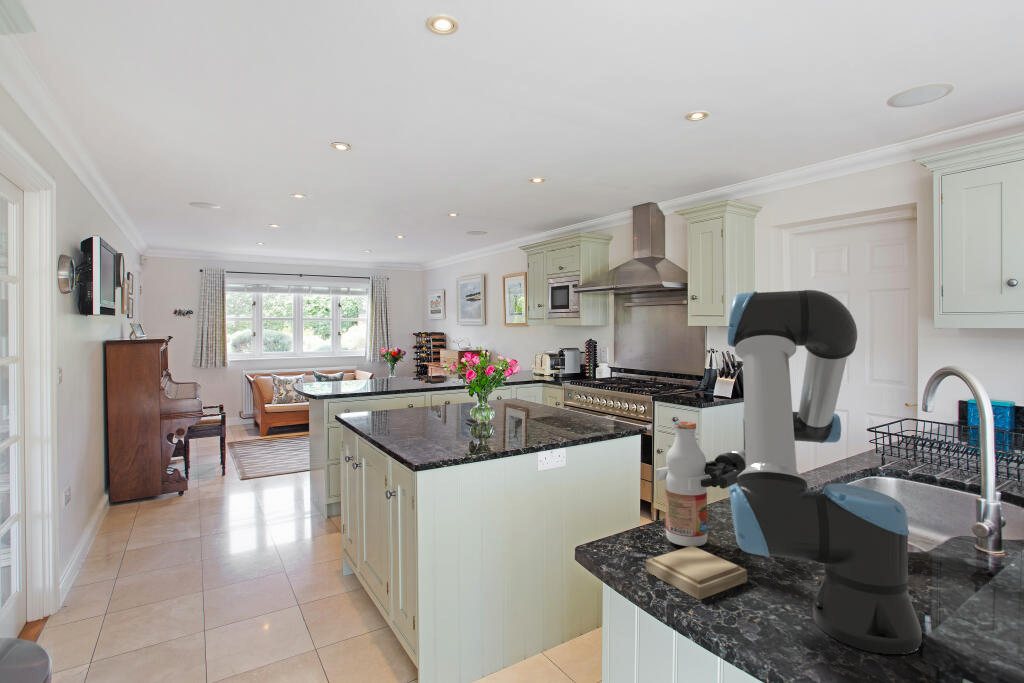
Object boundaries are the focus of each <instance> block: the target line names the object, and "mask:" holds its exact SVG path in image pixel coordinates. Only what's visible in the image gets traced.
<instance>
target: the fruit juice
mask: <svg viewBox="0 0 1024 683" xmlns="http://www.w3.org/2000/svg"><path fill="white" fill-rule="evenodd" d="M674 430H675V437H674V441H673V443H672V445H671V447H670V448H669V449H668V451H667V452H666V455H665V463H666V467H667V468H668V473H667V476H666V479H665V535H666V539H668V541H669V542H670V543H673V544H676V545H679V546H684V547H690V546H694V547H699V546H700V547H701V546H703V545H705V544H706V543H707V541H708V487H707V488H703V489H698V490H694V491H689V490H688V478H693V477H698V476H702V475H704V474H705V473H704V469H705V466H706V462H707V458H706V455H705V454H704V452H703V451H702V449H701V448H700V446H699V445H698V441H697V439H696V431H697V423H696V422H694V421H693V422H692V421H676V422H674Z"/></svg>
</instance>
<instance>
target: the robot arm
mask: <svg viewBox="0 0 1024 683" xmlns="http://www.w3.org/2000/svg"><path fill="white" fill-rule="evenodd" d="M728 320H729V322H728V329H727V345H728V346H729V347H732V348H734V353H735V355H736V356H737V357H739V358H740V359H741V360H742V374H743V376H742V377H743V378H742V379H743V380H742V382H743V419H742V422H743V449H742V450H741V449H740V450H736V451H735V450H734V451H729V452H726V453H721V454H718V455H717V456H716V457H715V458H714V460H710V461H706V466H705V469H704V475H702V476H698V477H693V478H688V490H689V491H694V490H698V489H703V488H707V489H708V488H711V487H713V488H717V487H719V488H720V489H722V490H723V489H727V488H729V489H728V491H729V498H730V500H729V501H730V508H731V515H732V517H731V518H732V523H733V528H734V533H735V534H734V535H735V539H736V544H737V546H738V547H739V549H741V551H743V552H744V553H748V554H753V555H758V556H764V557H765V558H769V557H770V558H771V557H772V558H779V559H788V560H794V561H801V562H809V563H816V564H817V563H818V564H824V576H823V578H822V581H821V583H820V585H819V589H818V591H817V593H816V596H815V599H814V601H813V605H812V606H813V608H812V609H813V612H812V614H813V616H812V617H813V621H814V623H815V624H816V625H817V627H818V628H819V629H820V630H821V631H823V632H824V633H825V634H826V635H828V636H830V637H831V638H833V639H834V640H837V641H838V642H840V643H843V644H845V645H848V646H850V647H853V648H856V649H858V650H862V651H867V652H869V651H870V653H873V652H874V654H879V653H882V654H881V655H886V654H903V653H908V652H911V651H914V650H915V649H917V648H918V647H919V646H920V645H921V643H922V644H923V642H922V641H923V640H922V639H923V635H922V634H923V633H922V631H923V630H922V627H921V624H920V620H919V619H918V616H917V613H916V610H915V608H914V606H913V603H912V602H913V601H912V599H911V597H910V594H909V588H908V587H909V582H908V581H909V574H908V573H909V566H908V565H909V563H908V562H909V535H910V530H909V524H908V515H907V510H906V508H905V507H904V505H903V504H902V503H901V502H900V501H898V500H897V499H896V498H894V497H891V495H887V494H885V493H884V492H883V493H882V492H880V491H876V490H874V489H870V488H867V487H864V486H858V485H854V484H847V483H838V482H837V483H833V482H832V483H827V484H826V485H824V487H823V489H822V492H813V491H809V488H808V481H807V478H805V477H804V476H803V475H802V474H800V473H799V472H798V468H797V458H796V457H797V456H796V455H797V454H796V443H795V442H808V443H809V442H810V443H820V444H824V443H828V444H829V443H838V442H839V441H840V440H841V436H842V435H841V432H842V425H841V424H842V423H841V417H840V416H839V415H838V414H837V413H835V410H836V406H837V402H838V398H839V394H840V389H841V386H842V381H843V377H844V371H845V368H846V363H847V360H848V357H850V356H851V355H852V354H853V353H854V352H855V349H856V345H857V341H858V329H857V324H856V322H855V319H854V317H853V315H852V314H851V312H850V311H849V309H848V308H847V307H846V306H845V305H844V303H843V302H841V301H840V300H839V299H838V298H836V297H834V296H832V294H829V293H826V292H824V291H821V290H816V289H815V290H814V289H804V290H787V291H783V290H782V291H766V292H765V291H764V292H758V291H755V290H754V291H751V292H743V293H737V294H736V295H735V296H734V297H733V299H732V301H731V305H730V311H729V318H728ZM799 346H800V347H801V346H804V348H805V350H806V351H807V352H806V353H807V354H806V359H805V360H806V361H805V366H804V367H805V368H804V375H803V381H802V388H801V393H800V400H799V408H798V411H793V401H792V400H793V399H792V398H793V397H792V387H791V385H792V384H791V374H790V373H791V372H790V358H791V357H793V356H794V355H795V354H796V352H797V347H799ZM667 473H668V468H667V466H666V467H665V466H663V467H661V468H656V469H655V481H657V482H660V481H663V480H665V481H666V476H667ZM921 646H922V645H921ZM883 653H884V654H883Z"/></svg>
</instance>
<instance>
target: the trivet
mask: <svg viewBox="0 0 1024 683" xmlns="http://www.w3.org/2000/svg"><path fill="white" fill-rule="evenodd" d="M645 572H646V573H648V574H650V575H652V576H653V575H654V576H653V577H655V576H656V577H655V578H657V579H660V580H661V581H663V582H664V583H667V584H669V585H670V586H673V587H674V588H676V589H677V590H680V592H681V591H682V592H683V593H684V594H685V593H686V594H688V595H689V596H691V597H693V598H695V599H697V600H698V601H700V600H703V599H705V598H709V597H710V596H713V595H716V594H718V593H721V592H724V591H727V590H729V589H731V588H734V587H737V586H739V585H742V584H744V583H747V582H748V569H747V568H744V567H742V566H740V565H738V564H735V563H733V562H731V561H729V560H726V559H724V558H721V557H720V556H717V555H715V554H712V553H710V552H708V551H706V550H703V549H701V548H698V547H697V546H685V547H683V548H680V549H677V550H674V551H670V552H667V553H664V554H661V555H657V556H654V557H650V558H647V559H645Z"/></svg>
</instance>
